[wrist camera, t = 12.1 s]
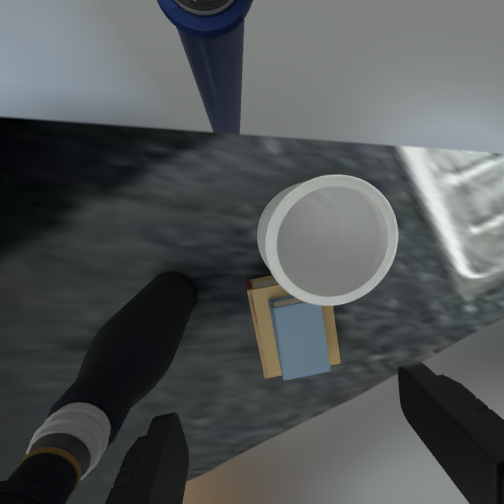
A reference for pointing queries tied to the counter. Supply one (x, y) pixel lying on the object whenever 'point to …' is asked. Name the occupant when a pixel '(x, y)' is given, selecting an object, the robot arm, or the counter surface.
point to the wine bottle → (104, 392)
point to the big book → (259, 306)
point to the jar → (328, 239)
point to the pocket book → (299, 337)
